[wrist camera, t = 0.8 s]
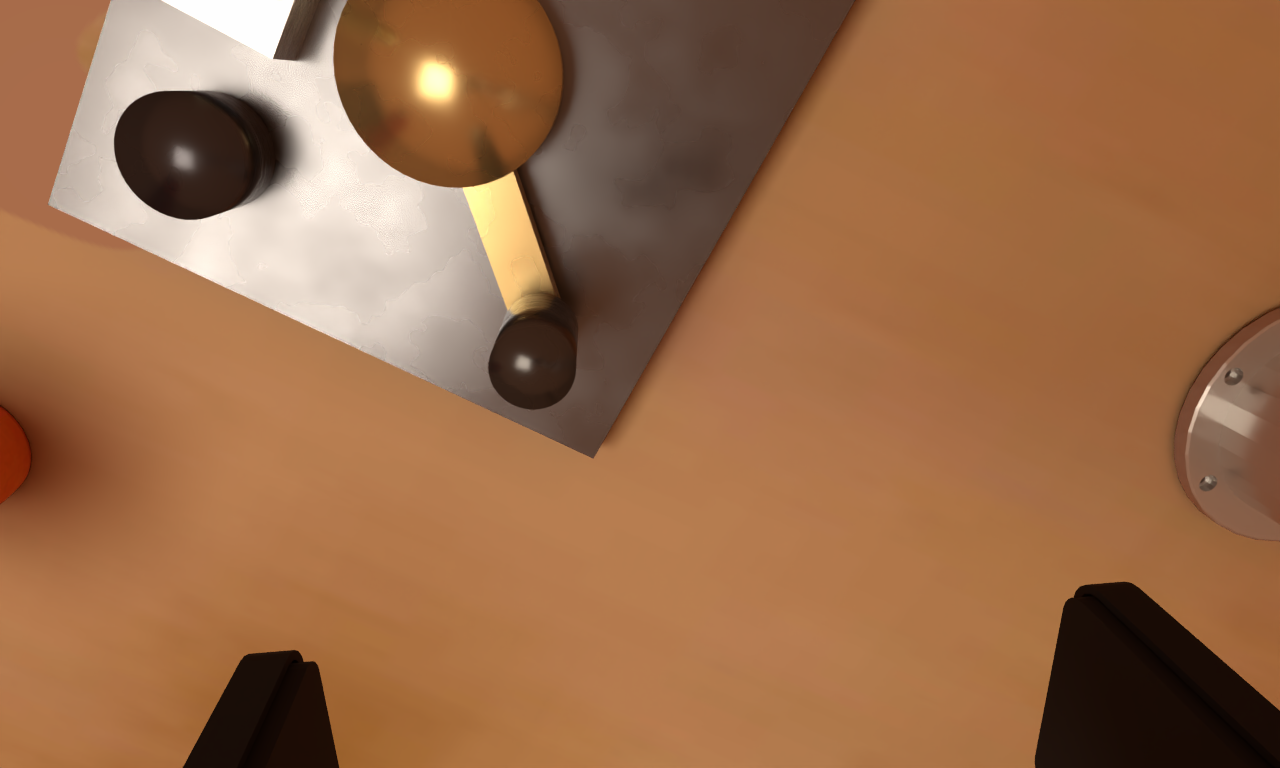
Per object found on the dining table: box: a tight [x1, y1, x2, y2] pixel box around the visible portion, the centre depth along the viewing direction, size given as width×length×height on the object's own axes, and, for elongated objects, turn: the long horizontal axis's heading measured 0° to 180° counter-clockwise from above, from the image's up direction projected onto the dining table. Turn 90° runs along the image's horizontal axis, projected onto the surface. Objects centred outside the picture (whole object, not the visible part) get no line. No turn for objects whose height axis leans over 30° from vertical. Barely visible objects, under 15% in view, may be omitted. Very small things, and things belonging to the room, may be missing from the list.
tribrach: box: [48, 0, 855, 458], centre depth 30 cm, size 24×24×6 cm
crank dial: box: [333, 0, 578, 410], centre depth 29 cm, size 16×8×7 cm, turn 16°
